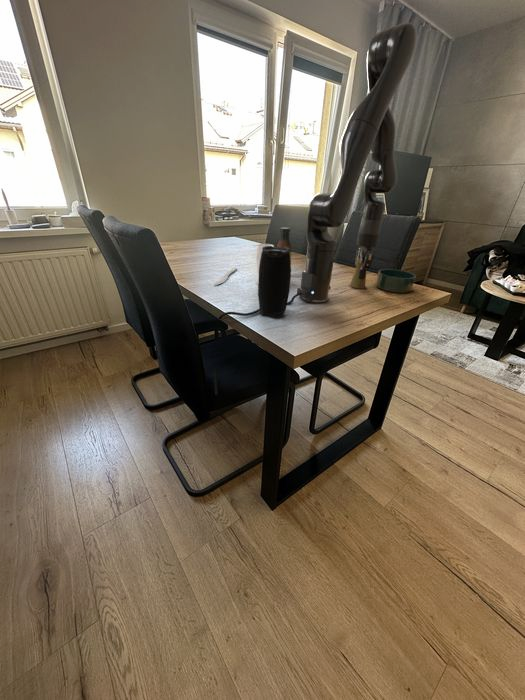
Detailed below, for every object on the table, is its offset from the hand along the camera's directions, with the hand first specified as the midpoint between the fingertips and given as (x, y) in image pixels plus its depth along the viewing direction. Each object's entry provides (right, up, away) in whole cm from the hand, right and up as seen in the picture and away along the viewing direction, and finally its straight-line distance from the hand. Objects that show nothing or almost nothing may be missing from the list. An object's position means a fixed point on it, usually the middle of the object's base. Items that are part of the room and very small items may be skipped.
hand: (359, 277), depth 114 cm
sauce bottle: (-30, +4, +12) cm, 33 cm away
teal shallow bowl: (+15, -4, +2) cm, 15 cm away
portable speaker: (-36, -18, -26) cm, 48 cm away
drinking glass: (-39, -3, 0) cm, 39 cm away
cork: (0, -3, +2) cm, 4 cm away
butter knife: (-55, +2, +7) cm, 55 cm away
